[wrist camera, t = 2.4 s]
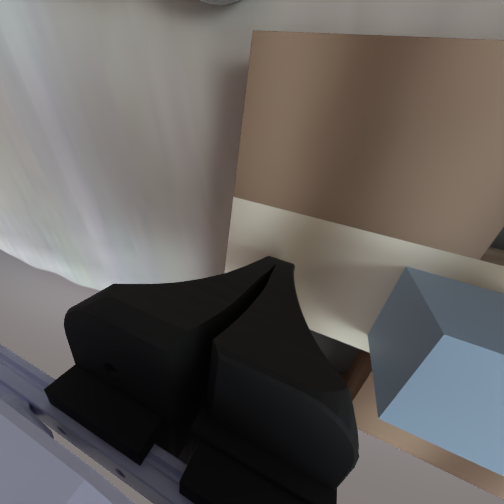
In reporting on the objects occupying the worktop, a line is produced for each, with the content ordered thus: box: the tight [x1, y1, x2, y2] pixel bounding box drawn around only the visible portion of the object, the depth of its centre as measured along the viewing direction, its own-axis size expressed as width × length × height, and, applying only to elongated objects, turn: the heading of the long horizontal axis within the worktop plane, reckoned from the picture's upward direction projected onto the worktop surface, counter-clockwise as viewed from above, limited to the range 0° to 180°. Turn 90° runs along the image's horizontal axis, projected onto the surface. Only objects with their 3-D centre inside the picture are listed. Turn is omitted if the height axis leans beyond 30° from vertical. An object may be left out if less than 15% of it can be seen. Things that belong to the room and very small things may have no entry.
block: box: [368, 266, 504, 476], centre depth 8 cm, size 4×4×4 cm
